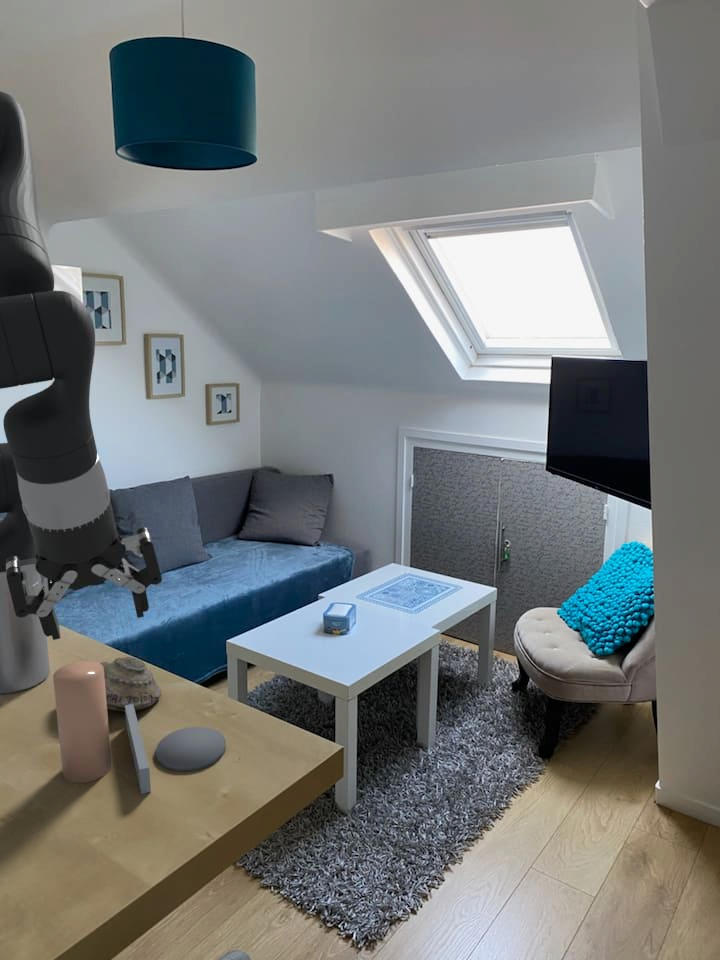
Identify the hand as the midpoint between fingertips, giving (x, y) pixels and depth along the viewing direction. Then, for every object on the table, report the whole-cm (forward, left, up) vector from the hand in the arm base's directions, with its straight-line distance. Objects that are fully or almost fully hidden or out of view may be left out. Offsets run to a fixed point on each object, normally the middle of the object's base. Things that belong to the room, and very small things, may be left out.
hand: (98, 622), depth 78 cm
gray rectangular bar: (-2, +3, -18) cm, 18 cm away
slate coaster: (-1, +9, -18) cm, 20 cm away
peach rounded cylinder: (-2, -2, -18) cm, 18 cm away
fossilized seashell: (-16, +2, -18) cm, 24 cm away
